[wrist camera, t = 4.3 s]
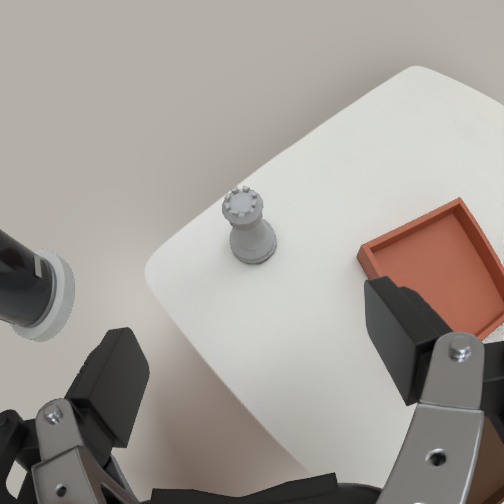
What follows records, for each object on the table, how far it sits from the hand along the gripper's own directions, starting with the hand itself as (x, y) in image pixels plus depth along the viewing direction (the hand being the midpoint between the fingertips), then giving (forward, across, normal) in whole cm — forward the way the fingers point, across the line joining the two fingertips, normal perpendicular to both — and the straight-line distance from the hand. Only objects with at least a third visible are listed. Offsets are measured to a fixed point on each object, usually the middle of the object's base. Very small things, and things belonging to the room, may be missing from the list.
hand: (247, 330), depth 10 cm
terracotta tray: (+15, -17, +10) cm, 25 cm away
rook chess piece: (+21, 0, +4) cm, 21 cm away
